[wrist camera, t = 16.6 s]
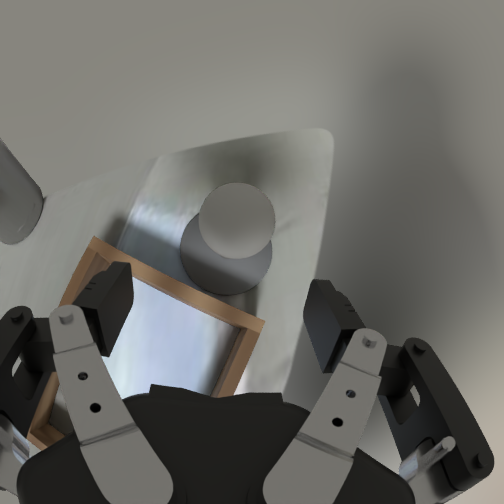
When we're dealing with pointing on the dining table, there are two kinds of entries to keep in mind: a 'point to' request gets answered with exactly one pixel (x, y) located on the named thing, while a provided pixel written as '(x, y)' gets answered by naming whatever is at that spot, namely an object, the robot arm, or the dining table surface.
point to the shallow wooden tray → (104, 254)
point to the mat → (220, 264)
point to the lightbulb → (237, 220)
